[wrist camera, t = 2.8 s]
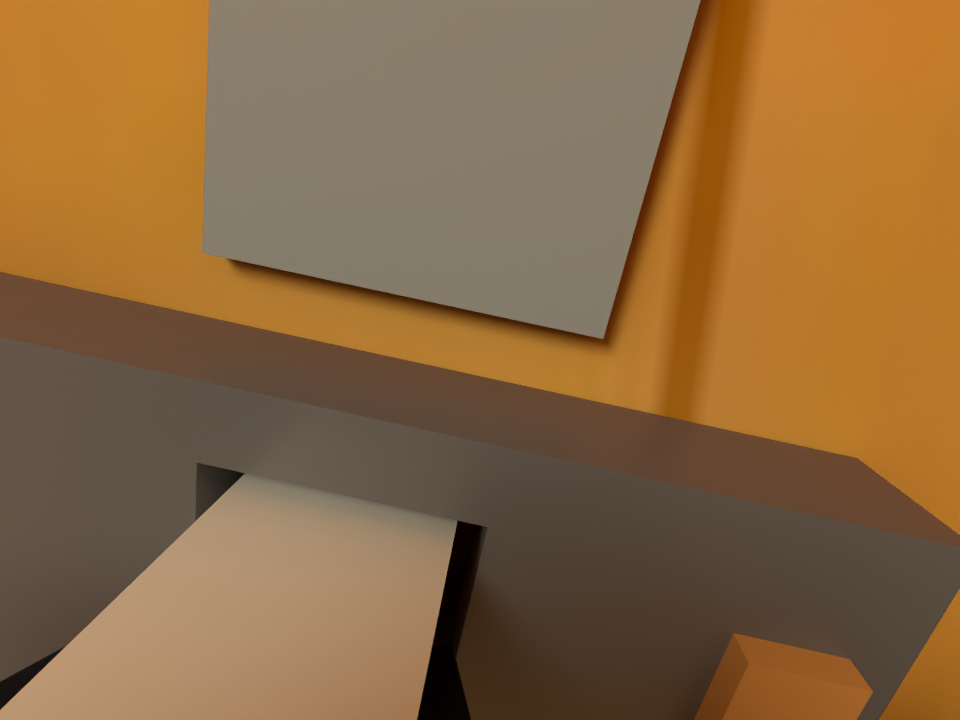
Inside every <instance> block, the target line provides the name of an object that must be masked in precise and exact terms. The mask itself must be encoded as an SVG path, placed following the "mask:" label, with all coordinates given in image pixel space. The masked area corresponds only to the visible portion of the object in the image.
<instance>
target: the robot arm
mask: <svg viewBox="0 0 960 720" xmlns="http://www.w3.org/2000/svg"><path fill="white" fill-rule="evenodd" d="M66 646H67V645H66ZM66 646H64V647H63V648H61V649H59V650H57V651H55V652H53V653H52V654H50V655H48V656H46V657H44V658H42V659H41V660H39V661H37V662H35V663H33V664H31V665H29V666H28V667H26V668H24V669H22V670H20V671H18V672H17V673H15V674H13V675H11V676H9V677H7V678H6V679H4V680H2V681H0V710H1V709H2V708H3V707H4V706H5V705H6V704H7V703H8V702H9V701H10V700H11V699H12V698H13V697H14V696H15V695H16V694H17V693H18V692H19V691H20V690H21V689H22V688H24V687H25V686H26V685H27V684H28V683H29V682H30V681H31V680H32V679H33V678H34V677H35V676H36V675H37V674H38V673H39V672H40V671H41V670H42V669H43V668H44V667H45V666H46V665H47V664H48V663H49V662H50V661H51V660H52V659H54V658H55V657H56V656H57V655H58V654H59V653H60V652H61V651H62V650H63V649H64V648H65V647H66ZM417 720H471V716H470V712H469V708H468V704H467V700H466V696H465V692H464V688H463V684H462V680H461V676H460V672H459V668H458V664H457V660H456V656H455V653H454V650H453V648H452V647H450V646H445V645H441V644H436V643H433V644H432V649H431V654H430V659H429V663H428V668H427V673H426V678H425V683H424V688H423V693H422V698H421V703H420V708H419V712H418V717H417Z"/></svg>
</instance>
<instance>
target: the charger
mask: <svg viewBox="0 0 960 720" xmlns="http://www.w3.org/2000/svg"><path fill="white" fill-rule="evenodd" d="M457 521H458V520H453V519H449V518H444V517H440V516H435V515H431V514H426V513H422V512H417V511H413V510H408V509H404V508H399V507H395V506H390V505H386V504H381V503H377V502H372V501H368V500H363V499H359V498H354V497H350V496H345V495H341V494H336V493H332V492H327V491H323V490H318V489H314V488H309V487H305V486H300V485H296V484H291V483H287V482H282V481H278V480H273V479H269V478H264V477H260V476H255V475H251V474H246V473H245V474H244V475H243V476H242V477H241V478H240V479H239V480H238V481H237V482H236V483H235V484H234V485H233V486H231V487H230V488H229V489H228V490H227V491H226V492H225V493H224V494H223V495H222V496H221V497H220V498H219V499H218V500H217V501H216V502H215V503H214V504H213V505H212V506H211V507H210V508H209V509H208V510H207V511H206V512H205V513H204V514H203V515H201V516H200V517H199V518H198V519H197V520H196V521H195V522H194V523H193V524H192V525H191V526H190V527H189V528H188V529H187V530H186V531H185V532H184V533H183V534H182V535H181V536H180V537H179V538H178V539H177V540H176V541H175V542H174V543H173V544H171V545H170V546H169V547H168V548H167V549H166V550H165V551H164V552H163V553H162V554H161V555H160V556H159V557H158V558H157V559H156V560H155V561H154V562H153V563H152V564H151V565H150V566H149V567H148V568H147V569H146V570H145V571H144V572H143V573H141V574H140V575H139V576H138V577H137V578H136V579H135V580H134V581H133V582H132V583H131V584H130V585H129V586H128V587H127V588H126V589H125V590H124V591H123V592H122V593H121V594H120V595H119V596H118V597H117V598H116V599H115V600H114V601H113V602H111V603H110V604H109V605H108V606H107V607H106V608H105V609H104V610H103V611H102V612H101V613H100V614H99V615H98V616H97V617H96V618H95V619H94V620H93V621H92V622H91V623H90V624H89V625H88V626H87V627H86V628H85V629H84V630H82V631H81V632H80V633H79V634H78V635H77V636H76V637H75V638H74V639H73V640H72V641H71V642H70V643H69V644H68V645H67V646H66V647H65V648H64V649H63V650H62V651H61V652H60V653H59V654H58V655H57V656H56V657H55V658H54V659H52V660H51V661H50V662H49V663H48V664H47V665H46V666H45V667H44V668H43V669H42V670H41V671H40V672H39V673H38V674H37V675H36V676H35V677H34V678H33V679H32V680H31V681H30V682H29V683H28V684H27V685H26V686H25V687H24V688H22V689H21V690H20V691H19V692H18V693H17V694H16V695H15V696H14V697H13V698H12V699H11V700H10V701H9V702H8V703H7V704H6V705H5V706H4V707H3V708H2V709H1V710H0V720H417V717H418V712H419V708H420V703H421V698H422V693H423V688H424V683H425V678H426V673H427V668H428V663H429V659H430V654H431V649H432V644H433V639H434V634H435V629H436V624H437V619H438V614H439V609H440V605H441V600H442V595H443V590H444V585H445V580H446V575H447V570H448V565H449V560H450V556H451V551H452V546H453V541H454V536H455V531H456V526H457Z"/></svg>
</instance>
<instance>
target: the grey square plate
mask: <svg viewBox="0 0 960 720" xmlns="http://www.w3.org/2000/svg"><path fill="white" fill-rule="evenodd" d="M700 1H701V0H210V1H209V36H208V72H207V108H206V144H205V180H204V216H203V252H202V253H205V254H210V255H215V256H219V257H224V258H229V259H233V260H238V261H243V262H247V263H252V264H256V265H261V266H266V267H270V268H275V269H280V270H284V271H289V272H294V273H298V274H303V275H308V276H312V277H317V278H322V279H326V280H331V281H336V282H340V283H345V284H350V285H354V286H359V287H363V288H368V289H373V290H377V291H382V292H387V293H391V294H396V295H401V296H405V297H410V298H415V299H419V300H424V301H429V302H433V303H438V304H443V305H447V306H452V307H456V308H461V309H466V310H470V311H475V312H480V313H484V314H489V315H494V316H498V317H503V318H508V319H512V320H517V321H522V322H526V323H531V324H536V325H540V326H545V327H549V328H554V329H559V330H563V331H568V332H573V333H577V334H582V335H587V336H591V337H596V338H601V339H603V338H604V335H605V331H606V328H607V324H608V321H609V317H610V314H611V310H612V307H613V303H614V300H615V296H616V293H617V289H618V286H619V282H620V279H621V275H622V272H623V269H624V265H625V262H626V258H627V255H628V251H629V248H630V244H631V241H632V237H633V234H634V230H635V227H636V223H637V220H638V216H639V213H640V209H641V206H642V202H643V199H644V196H645V192H646V189H647V185H648V182H649V178H650V175H651V171H652V168H653V164H654V161H655V157H656V154H657V150H658V147H659V143H660V140H661V136H662V133H663V129H664V126H665V122H666V119H667V116H668V112H669V109H670V105H671V102H672V98H673V95H674V91H675V88H676V84H677V81H678V77H679V74H680V70H681V67H682V63H683V60H684V56H685V53H686V49H687V46H688V43H689V39H690V36H691V32H692V29H693V25H694V22H695V18H696V15H697V11H698V8H699V4H700Z"/></svg>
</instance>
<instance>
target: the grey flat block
mask: <svg viewBox="0 0 960 720" xmlns="http://www.w3.org/2000/svg"><path fill="white" fill-rule="evenodd" d="M245 473H246V474H251V475H255V476H260V477H264V478H269V479H273V480H278V481H282V482H287V483H291V484H296V485H300V486H305V487H309V488H314V489H318V490H323V491H327V492H332V493H336V494H341V495H345V496H350V497H354V498H359V499H363V500H368V501H372V502H377V503H381V504H386V505H390V506H395V507H399V508H404V509H408V510H413V511H417V512H422V513H426V514H431V515H435V516H440V517H444V518H449V519H453V520H458V521H462V522H467V523H471V524H476V525H478V527H477V531H476V535H475V539H474V544H473V548H472V552H471V556H470V561H469V565H468V569H467V573H466V578H465V582H464V586H463V590H462V595H461V599H460V603H459V607H458V612H457V616H456V618H452V617H448V616H443V615H439V614H438V619H437V624H436V629H435V634H434V639H433V643H436V644H441V645H445V646H450V647H452V648H453V650H454V653H455V656H456V660H457V664H458V668H459V672H460V676H461V680H462V684H463V688H464V692H465V696H466V700H467V704H468V708H469V712H470V716H471V720H879V718H880V717H881V715H882V713H883V712H884V710H885V708H886V707H887V705H888V704H889V702H890V700H891V699H892V697H893V695H894V694H895V692H896V691H897V689H898V687H899V686H900V684H901V683H902V681H903V679H904V678H905V676H906V674H907V673H908V671H909V670H910V668H911V666H912V665H913V663H914V661H915V660H916V658H917V657H918V655H919V653H920V652H921V650H922V648H923V647H924V645H925V644H926V642H927V640H928V639H929V637H930V635H931V634H932V632H933V631H934V629H935V627H936V626H937V624H938V622H939V621H940V619H941V618H942V616H943V614H944V613H945V611H946V609H947V608H948V606H949V605H950V603H951V601H952V600H953V598H954V597H955V595H956V593H957V592H958V590H959V588H960V535H959V534H957V533H956V532H955V531H953V530H952V529H951V528H949V527H948V526H947V525H945V524H944V523H943V522H941V521H940V520H939V519H937V518H936V517H935V516H933V515H932V514H931V513H929V512H928V511H927V510H925V509H924V508H923V507H921V506H920V505H919V504H917V503H916V502H915V501H913V500H912V499H911V498H909V497H908V496H907V495H905V494H904V493H903V492H901V491H900V490H899V489H897V488H896V487H895V486H893V485H892V484H891V483H889V482H888V481H887V480H885V479H884V478H883V477H881V476H880V475H879V474H877V473H876V472H875V471H873V470H872V469H871V468H869V467H868V466H867V465H865V464H864V463H863V462H861V461H860V460H859V459H857V458H853V457H848V456H843V455H839V454H834V453H830V452H825V451H820V450H816V449H811V448H807V447H802V446H797V445H793V444H788V443H784V442H779V441H774V440H770V439H765V438H761V437H756V436H751V435H747V434H742V433H738V432H733V431H728V430H724V429H719V428H715V427H710V426H705V425H701V424H696V423H692V422H687V421H682V420H678V419H673V418H669V417H664V416H659V415H655V414H650V413H646V412H641V411H636V410H632V409H627V408H622V407H618V406H613V405H609V404H604V403H599V402H595V401H590V400H586V399H581V398H576V397H572V396H567V395H563V394H558V393H553V392H549V391H544V390H540V389H535V388H530V387H526V386H521V385H517V384H512V383H507V382H503V381H498V380H494V379H489V378H484V377H480V376H475V375H471V374H466V373H461V372H457V371H452V370H448V369H443V368H438V367H434V366H429V365H425V364H420V363H415V362H411V361H406V360H401V359H397V358H392V357H388V356H383V355H378V354H374V353H369V352H365V351H360V350H355V349H351V348H346V347H342V346H337V345H332V344H328V343H323V342H319V341H314V340H309V339H305V338H300V337H296V336H291V335H286V334H282V333H277V332H273V331H268V330H263V329H259V328H254V327H250V326H245V325H240V324H236V323H231V322H227V321H222V320H217V319H213V318H208V317H204V316H199V315H194V314H190V313H185V312H181V311H176V310H171V309H167V308H162V307H157V306H153V305H148V304H144V303H139V302H134V301H130V300H125V299H121V298H116V297H111V296H107V295H102V294H98V293H93V292H88V291H84V290H79V289H75V288H70V287H65V286H61V285H56V284H52V283H47V282H42V281H38V280H33V279H29V278H24V277H19V276H15V275H10V274H6V273H1V272H0V681H2V680H4V679H6V678H7V677H9V676H11V675H13V674H15V673H17V672H18V671H20V670H22V669H24V668H26V667H28V666H29V665H31V664H33V663H35V662H37V661H39V660H41V659H42V658H44V657H46V656H48V655H50V654H52V653H53V652H55V651H57V650H59V649H61V648H63V647H64V646H66V645H68V644H69V643H70V642H71V641H72V640H73V639H74V638H75V637H76V636H77V635H78V634H79V633H80V632H81V631H82V630H84V629H85V628H86V627H87V626H88V625H89V624H90V623H91V622H92V621H93V620H94V619H95V618H96V617H97V616H98V615H99V614H100V613H101V612H102V611H103V610H104V609H105V608H106V607H107V606H108V605H109V604H110V603H111V602H113V601H114V600H115V599H116V598H117V597H118V596H119V595H120V594H121V593H122V592H123V591H124V590H125V589H126V588H127V587H128V586H129V585H130V584H131V583H132V582H133V581H134V580H135V579H136V578H137V577H138V576H139V575H140V574H141V573H143V572H144V571H145V570H146V569H147V568H148V567H149V566H150V565H151V564H152V563H153V562H154V561H155V560H156V559H157V558H158V557H159V556H160V555H161V554H162V553H163V552H164V551H165V550H166V549H167V548H168V547H169V546H170V545H171V544H173V543H174V542H175V541H176V540H177V539H178V538H179V537H180V536H181V535H182V534H183V533H184V532H185V531H186V530H187V529H188V528H189V527H190V526H191V525H192V524H193V523H194V522H195V521H196V520H197V519H198V518H199V517H200V516H201V515H203V514H204V513H205V512H206V511H207V510H208V509H209V508H210V507H211V506H212V505H213V504H214V503H215V502H216V501H217V500H218V499H219V498H220V497H221V496H222V495H223V494H224V493H225V492H226V491H227V490H228V489H229V488H230V487H231V486H233V485H234V484H235V483H236V482H237V481H238V480H239V479H240V478H241V477H242V476H243V475H244V474H245Z"/></svg>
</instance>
